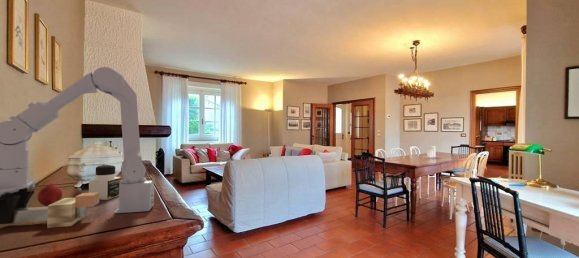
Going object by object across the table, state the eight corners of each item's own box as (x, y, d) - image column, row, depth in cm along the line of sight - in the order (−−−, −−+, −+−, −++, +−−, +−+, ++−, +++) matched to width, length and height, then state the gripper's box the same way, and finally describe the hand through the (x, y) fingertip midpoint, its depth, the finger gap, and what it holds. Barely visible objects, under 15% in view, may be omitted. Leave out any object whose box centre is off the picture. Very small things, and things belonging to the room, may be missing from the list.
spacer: (99, 202, 74) (99, 192, 74) (92, 206, 70) (93, 195, 70) (82, 203, 72) (82, 193, 73) (75, 207, 69) (75, 196, 69)
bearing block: (85, 216, 74) (85, 196, 74) (71, 225, 67) (71, 204, 67) (64, 218, 73) (64, 198, 73) (47, 227, 65) (47, 205, 65)
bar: (85, 215, 72) (85, 203, 72) (80, 218, 69) (80, 206, 69) (18, 219, 68) (19, 207, 68) (9, 224, 65) (10, 211, 65)
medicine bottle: (107, 200, 93) (108, 166, 93) (88, 199, 93) (88, 166, 93) (120, 195, 100) (121, 164, 100) (102, 195, 100) (103, 164, 100)
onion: (46, 210, 80) (47, 184, 80) (32, 209, 81) (32, 183, 81) (66, 205, 85) (67, 181, 86) (52, 204, 87) (53, 180, 87)
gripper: (13, 165, 72) (12, 214, 72) (-34, 173, 58) (-35, 233, 58) (44, 164, 74) (43, 211, 74) (6, 171, 60) (5, 230, 60)
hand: (11, 221), depth 66 cm, fingers closed on bar, 3 cm apart
